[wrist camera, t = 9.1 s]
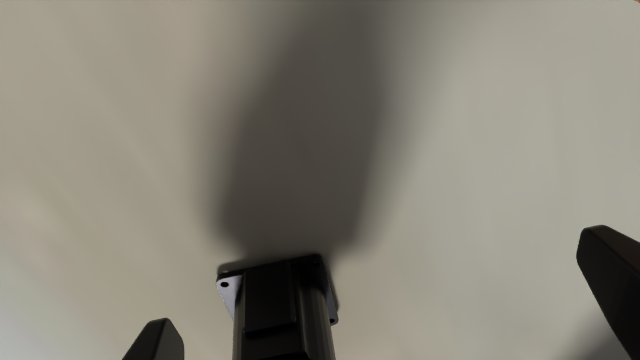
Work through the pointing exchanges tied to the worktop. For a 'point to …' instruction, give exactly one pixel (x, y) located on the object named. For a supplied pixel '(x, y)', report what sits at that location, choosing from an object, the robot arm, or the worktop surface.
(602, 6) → the worktop surface
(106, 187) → the worktop surface
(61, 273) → the worktop surface
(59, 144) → the worktop surface
